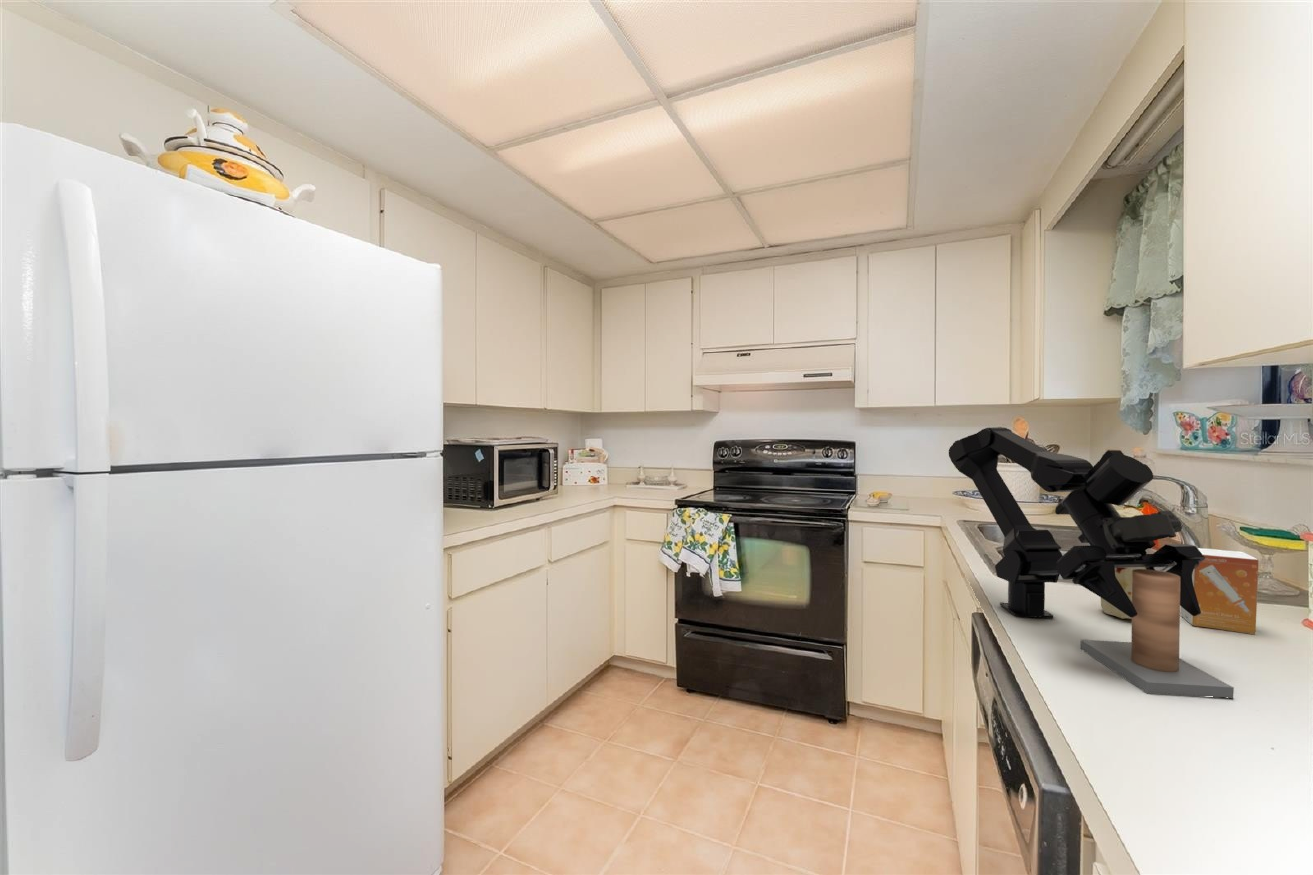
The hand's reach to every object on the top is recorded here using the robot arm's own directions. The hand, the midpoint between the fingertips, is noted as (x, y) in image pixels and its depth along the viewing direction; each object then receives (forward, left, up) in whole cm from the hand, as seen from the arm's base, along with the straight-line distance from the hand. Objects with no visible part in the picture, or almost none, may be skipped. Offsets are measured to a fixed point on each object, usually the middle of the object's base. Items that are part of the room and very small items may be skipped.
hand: (1166, 615), depth 75 cm
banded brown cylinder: (-1, 0, -8) cm, 8 cm away
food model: (-27, +12, -9) cm, 31 cm away
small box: (-24, +25, -9) cm, 36 cm away
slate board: (-2, 0, -9) cm, 9 cm away
